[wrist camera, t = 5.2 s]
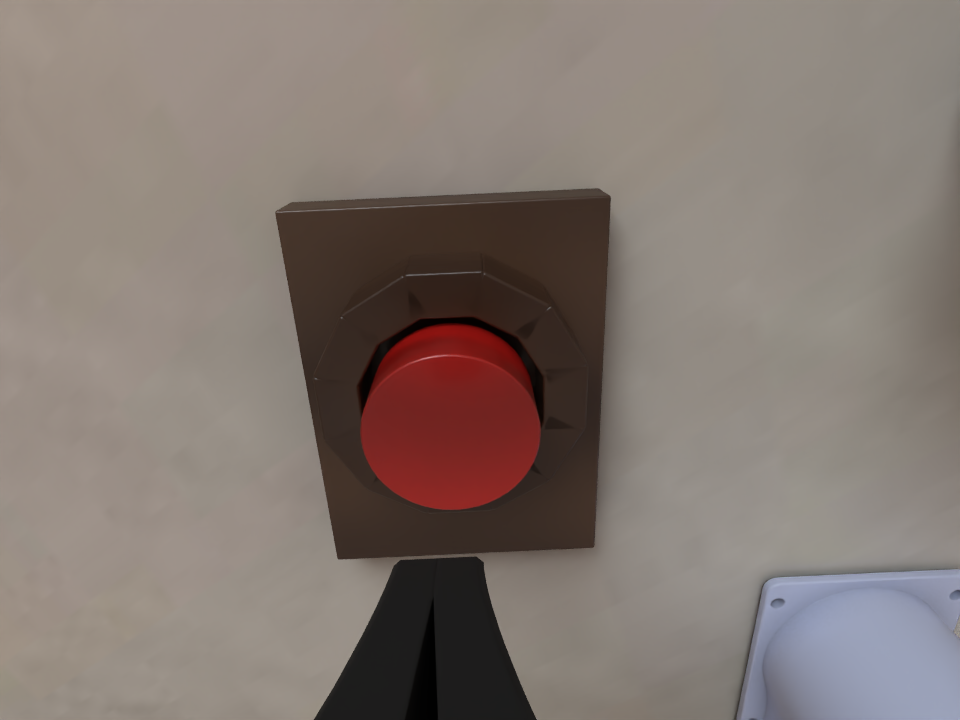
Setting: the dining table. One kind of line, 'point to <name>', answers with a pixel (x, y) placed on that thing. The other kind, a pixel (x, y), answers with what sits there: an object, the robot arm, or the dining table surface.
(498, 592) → the dining table surface
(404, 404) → the light button
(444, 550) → the switch block
